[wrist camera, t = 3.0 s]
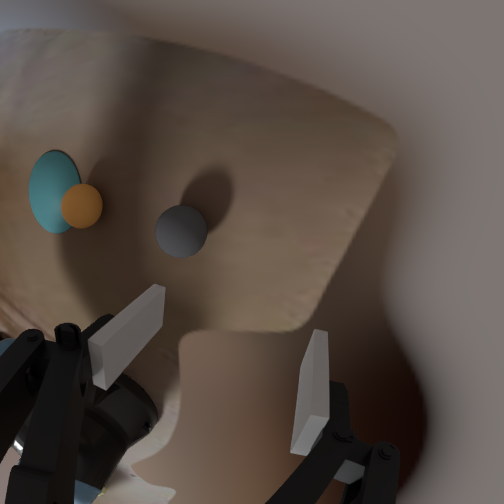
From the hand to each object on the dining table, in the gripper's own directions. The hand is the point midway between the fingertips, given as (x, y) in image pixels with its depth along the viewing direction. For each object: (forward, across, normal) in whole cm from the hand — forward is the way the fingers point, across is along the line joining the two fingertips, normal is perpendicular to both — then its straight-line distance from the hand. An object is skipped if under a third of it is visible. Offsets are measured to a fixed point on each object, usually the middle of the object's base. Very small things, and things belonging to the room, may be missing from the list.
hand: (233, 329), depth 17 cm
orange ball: (+15, +23, 0) cm, 28 cm away
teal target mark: (+17, +32, 0) cm, 36 cm away
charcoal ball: (+15, +9, 0) cm, 17 cm away
